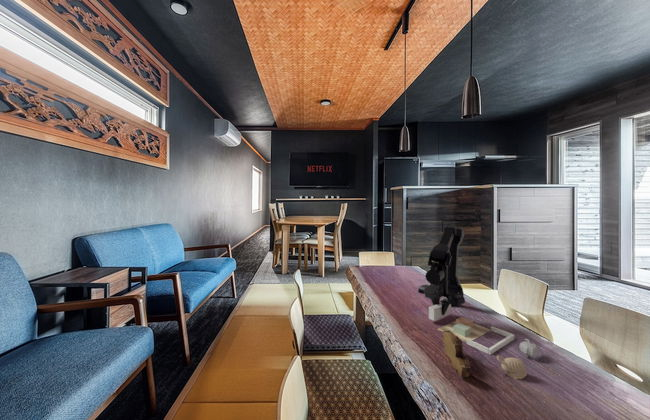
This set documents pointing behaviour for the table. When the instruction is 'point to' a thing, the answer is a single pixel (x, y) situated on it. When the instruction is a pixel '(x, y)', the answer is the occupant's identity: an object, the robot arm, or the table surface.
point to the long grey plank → (438, 311)
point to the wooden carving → (456, 353)
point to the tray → (497, 346)
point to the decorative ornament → (513, 367)
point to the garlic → (529, 349)
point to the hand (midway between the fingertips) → (440, 313)
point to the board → (475, 333)
